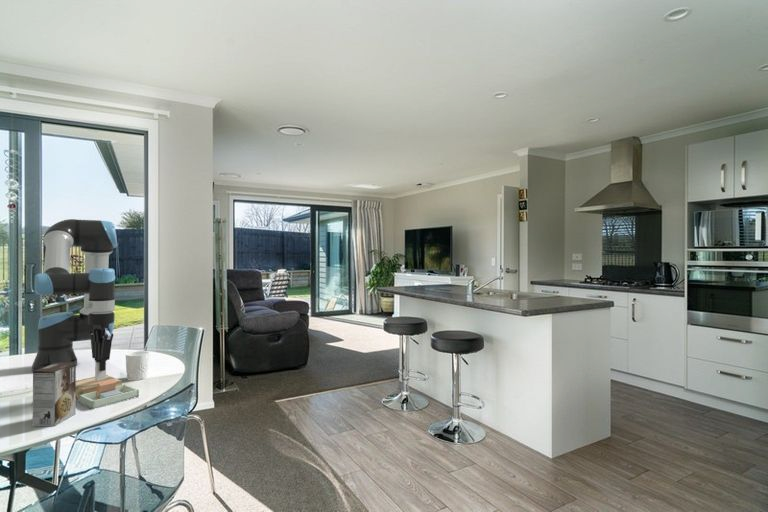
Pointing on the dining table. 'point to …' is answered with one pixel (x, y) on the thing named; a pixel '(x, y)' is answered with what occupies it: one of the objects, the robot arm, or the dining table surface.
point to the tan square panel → (91, 385)
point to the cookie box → (54, 394)
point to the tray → (94, 402)
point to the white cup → (137, 365)
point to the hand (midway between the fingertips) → (100, 379)
